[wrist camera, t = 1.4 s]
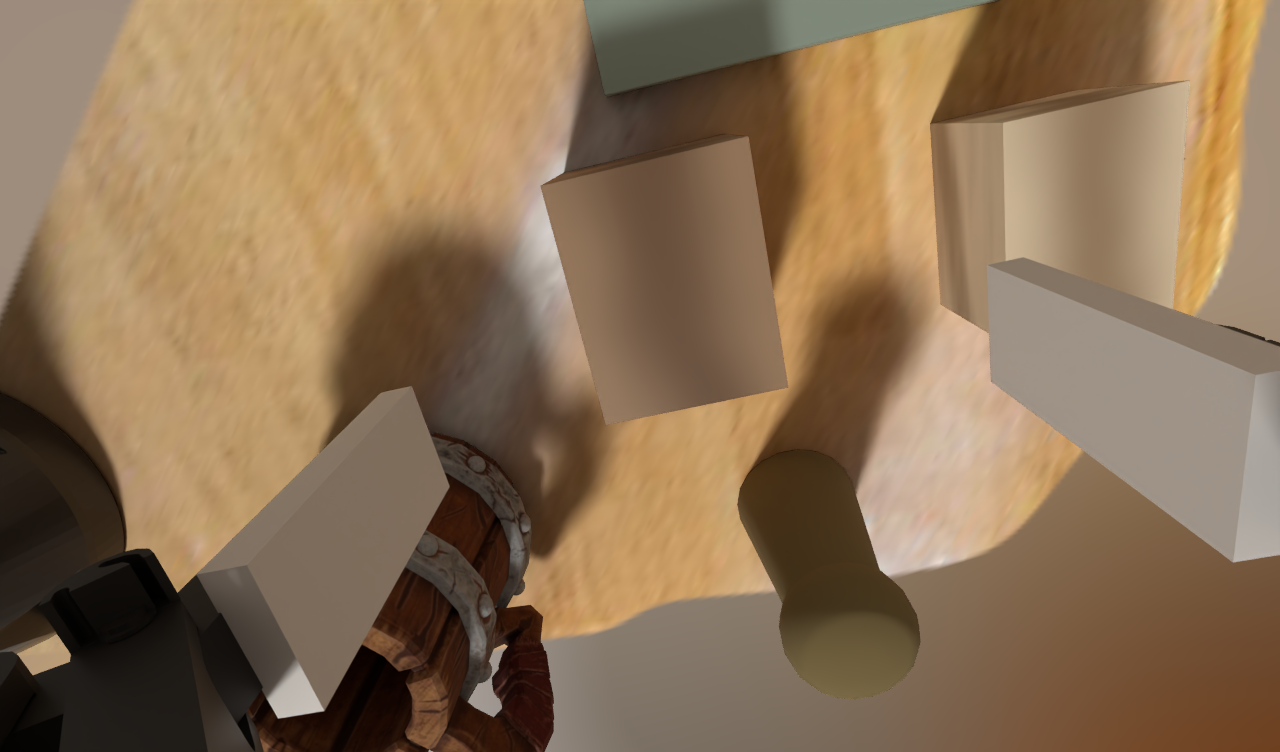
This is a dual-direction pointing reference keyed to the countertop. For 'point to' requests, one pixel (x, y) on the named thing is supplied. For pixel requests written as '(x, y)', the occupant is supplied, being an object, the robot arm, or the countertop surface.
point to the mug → (442, 638)
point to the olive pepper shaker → (827, 577)
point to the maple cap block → (1062, 191)
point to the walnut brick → (669, 277)
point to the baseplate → (729, 32)
